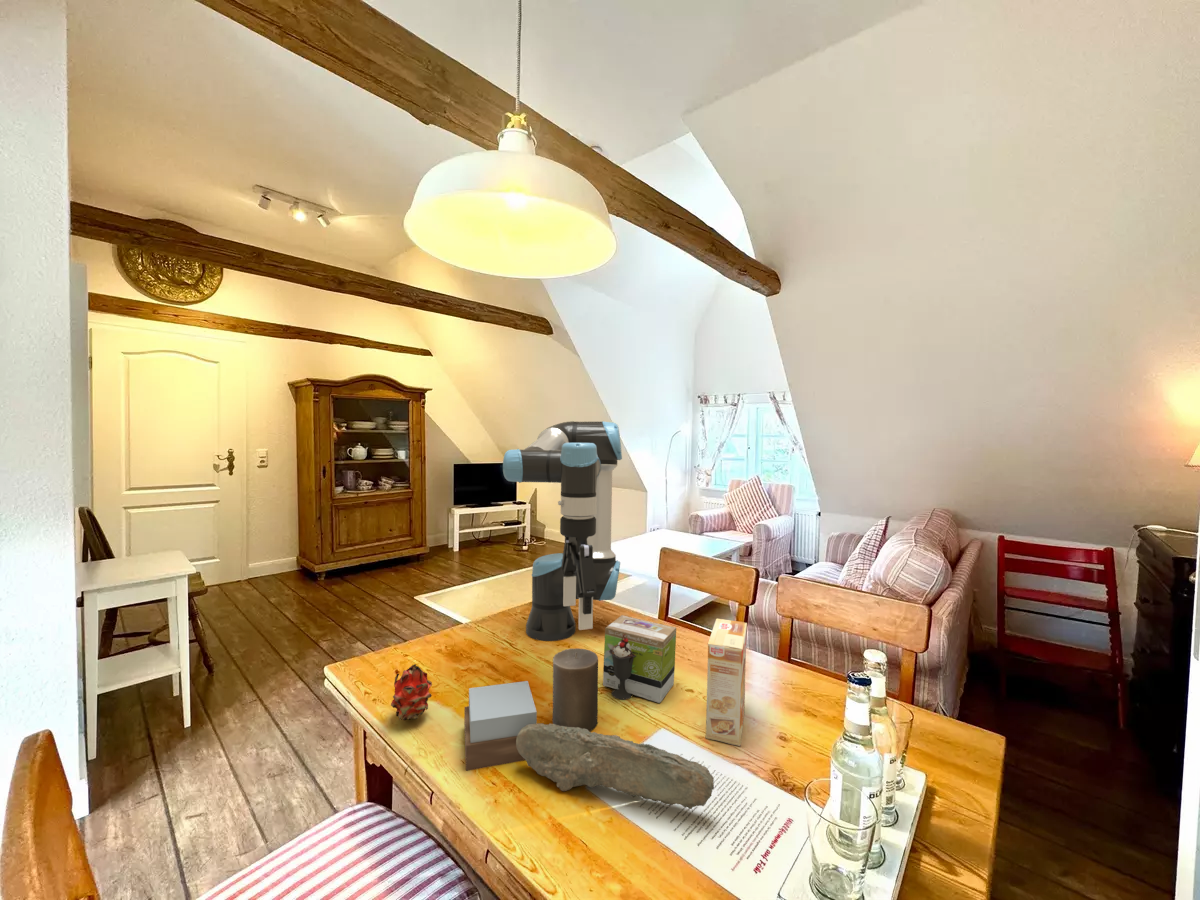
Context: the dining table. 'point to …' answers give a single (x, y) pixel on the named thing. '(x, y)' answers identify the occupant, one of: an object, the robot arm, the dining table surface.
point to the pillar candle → (575, 689)
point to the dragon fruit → (411, 693)
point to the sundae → (622, 667)
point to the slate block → (500, 710)
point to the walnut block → (489, 750)
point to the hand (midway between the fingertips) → (577, 616)
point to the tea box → (642, 657)
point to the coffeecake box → (726, 681)
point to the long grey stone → (613, 764)
